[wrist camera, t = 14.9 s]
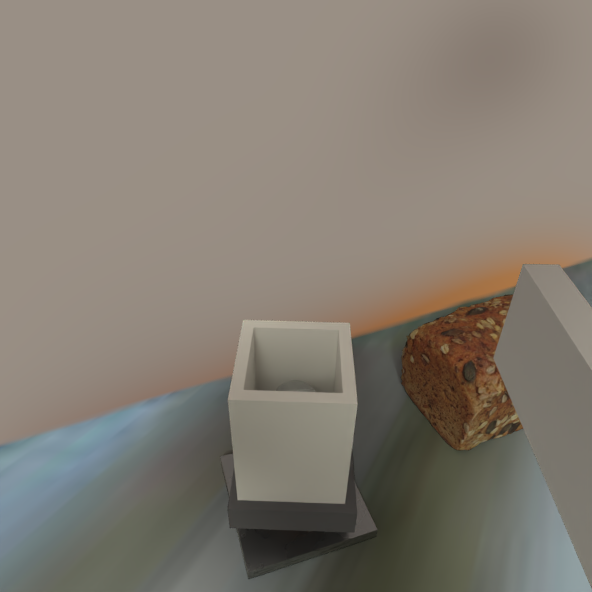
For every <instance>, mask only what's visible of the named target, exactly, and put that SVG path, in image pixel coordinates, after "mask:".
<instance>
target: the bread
mask: <svg viewBox="0 0 592 592" xmlns="http://www.w3.org/2000/svg"><path fill="white" fill-rule="evenodd" d="M512 298H513V295H505V296H502V297H496V298H493V299H491V300H489V301H487V302H484V303H480V304H475V305H471V306H470V307H459V308H458V309H457V310H456V311H455V312H453V313H451V314H449V315H447V316H445V317H440V318H437V319H436V320H434V321H433V322H428V323H426V324H424V325H422V326H420V327H418V329H415V330H414V331H413V332H412V333H410V334H409V336H406V337H407V342H406V345H405V347H404V349H403V350H402V351H403V354H402V357H401V359H402V366H403V369H402V376H401V379H402V383H401V384H402V385H403V386H404V387H405V390H406V392H407V394H408V395H409V397H410V398H411V400H412V401H413V402H414V403H415V405H416V406H417V407H418V408H419V410H420V411H421V412H422V414H423V415H424V416H425V417H426V418H427V419H428V420H429V422H430V424H431V426H432V427H434V428H435V429H436V430H437V432H438V433H439V434H440V436H441V437H442V438H443V439H444V440H445V441H446V443H447V444H449V445H450V446H451V447H452V448H454V449H456V450H470V449H472V448H473V447H475V446H477V445H478V444H480V443H481V442H485V441H488V440H490V439H495V438H499V437H502V436H505V435H507V434H511V433H513V432H514V431H518V430H520V429H523V426H522V424H521V422H520V419H519V417H518V415H517V412H516V410H515V408H514V405H513V403H512V401H511V398H510V396H509V394H508V391H507V389H506V387H505V384H504V382H503V380H502V377H501V375H500V373H499V370H498V368H497V366H496V363H495V361H494V359H493V358H494V355H495V351H496V348H497V345H498V342H499V339H500V336H501V332H502V329H503V326H504V323H505V320H506V317H507V313H508V310H509V307H510V304H511V301H512Z"/></svg>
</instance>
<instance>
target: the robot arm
mask: <svg viewBox="0 0 592 592" xmlns="http://www.w3.org/2000/svg"><path fill="white" fill-rule="evenodd" d="M493 359H494V361H495V363H496V366H497V368H498V370H499V373H500V375H501V377H502V380H503V382H504V384H505V387H506V389H507V391H508V394H509V396H510V398H511V401H512V403H513V405H514V408H515V410H516V412H517V415H518V417H519V419H520V422H521V424H522V426H523V429H524V431H525V433H526V436H527V438H528V440H529V443H530V445H531V448H532V450H533V452H534V455H535V457H536V459H537V462H538V464H539V466H540V469H541V471H542V473H543V476H544V478H545V480H546V483H547V485H548V487H549V490H550V492H551V494H552V497H553V499H554V501H555V504H556V506H557V508H558V511H559V513H560V515H561V518H562V520H563V522H564V525H565V527H566V529H567V532H568V534H569V536H570V539H571V541H572V544H573V546H574V548H575V551H576V553H577V555H578V558H579V560H580V562H581V565H582V567H583V569H584V572H585V574H586V576H587V579H588V581H589V583H590V586H591V588H592V307H591V306H590V305H589V303H588V302H587V301H586V299H585V298H584V297H583V295H582V294H581V293H580V291H579V290H578V289H577V288H576V286H575V285H574V284H573V282H572V281H571V280H570V278H569V277H568V276H567V274H566V273H565V272H564V270H563V269H562V268H561V267H560V265H548V264H523V266H522V269H521V272H520V275H519V279H518V282H517V285H516V288H515V291H514V294H513V298H512V301H511V304H510V307H509V310H508V313H507V317H506V320H505V323H504V326H503V329H502V332H501V336H500V339H499V342H498V345H497V348H496V351H495V355H494V358H493Z"/></svg>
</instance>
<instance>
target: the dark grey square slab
mask: <svg viewBox="0 0 592 592" xmlns="http://www.w3.org/2000/svg"><path fill="white" fill-rule="evenodd" d="M228 517H229V526H230V528H243V529H270V530H297V531H324V532H352V533H354V532H355V525H356V519H357V503H356V490H355V477H354V465H353V452H351V460H350V468H349V476H348V484H347V492H346V500H345V504H333V503H304V502H276V501H248V500H238V499H237V489H236V479H235V468H234V470H233V477H232V483H231V490H230V496H229V502H228Z"/></svg>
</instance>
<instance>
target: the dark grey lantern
mask: <svg viewBox="0 0 592 592" xmlns="http://www.w3.org/2000/svg"><path fill="white" fill-rule="evenodd" d="M276 391H293V392H315V390H314V388H313V387H312V386H311V385H309V384H308V383H306V382H303V381H298V380H293V381H288V382H285V383H283V384H281V385H280V386H279V387H278V388H277V389H276ZM220 459H221V466H222V470H223V474H224V478H225V482H226V487H227V491H228V495H229V496H230V490H231V483H232V477H233V470H234V458H233V453H232V454H228V455H224V456H220ZM355 490H356V503H357V519H356V525H355V532H354V533H352V532H324V531H297V530H270V529H243V528H236V529H237V533H238V537H239V542H240V546H241V550H242V554H243V558H244V563H245V567H246V571H247V575H248V579H251V578H254V577H257V576H260V575H263V574H266V573H269V572H272V571H275V570H278V569H281V568H284V567H287V566H290V565H293V564H296V563H299V562H302V561H305V560H308V559H311V558H314V557H317V556H320V555H323V554H326V553H329V552H332V551H335V550H338V549H341V548H344V547H347V546H350V545H353V544H356V543H359V542H362V541H365V540H368V539H371V538H374V537H376V535H377V528H376V525H375V523H374V521H373V519H372V517H371V515H370V513H369V511H368V509H367V507H366V505H365V502H364V500H363V498H362V496H361V494H360V492H359V490H358V488H357V486H356V484H355Z"/></svg>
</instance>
